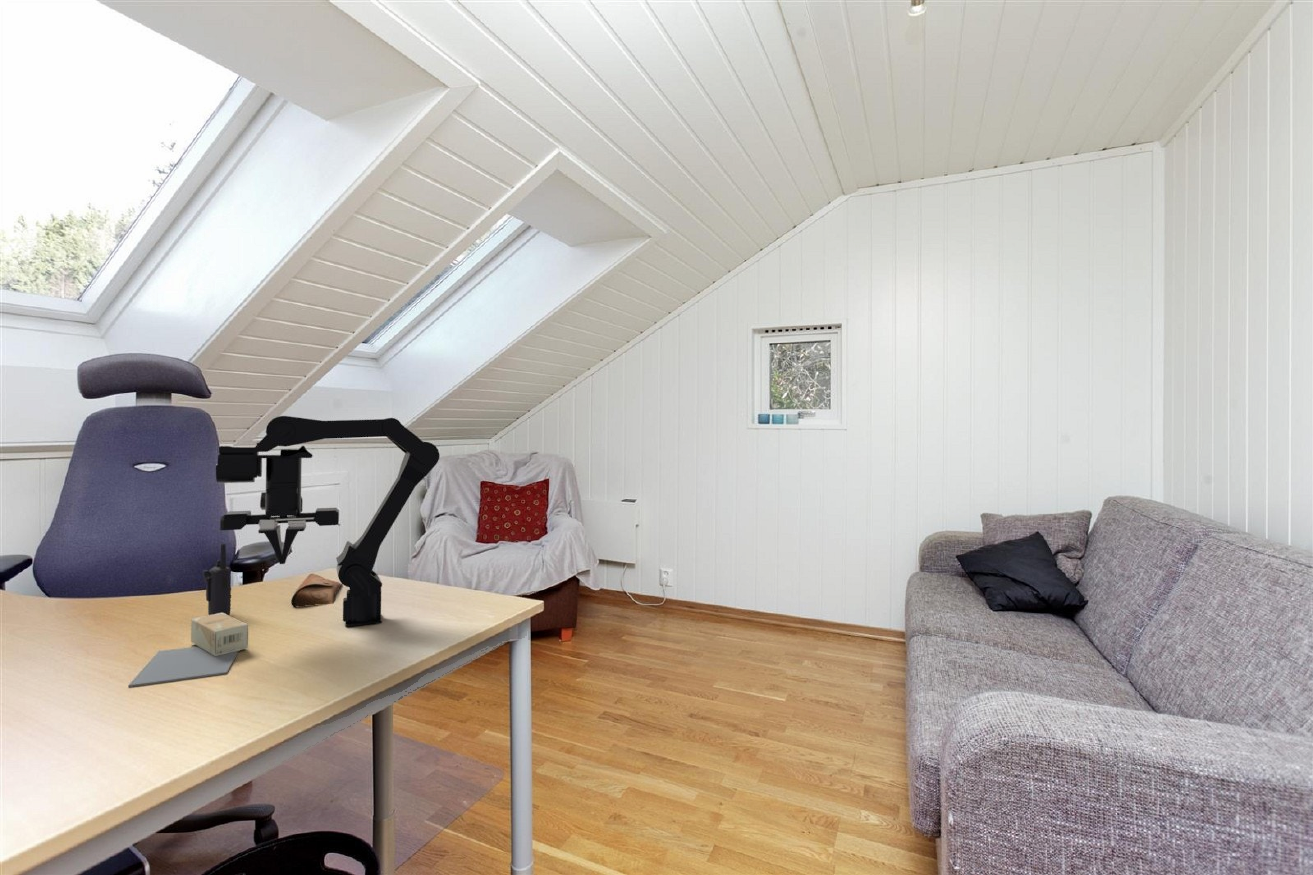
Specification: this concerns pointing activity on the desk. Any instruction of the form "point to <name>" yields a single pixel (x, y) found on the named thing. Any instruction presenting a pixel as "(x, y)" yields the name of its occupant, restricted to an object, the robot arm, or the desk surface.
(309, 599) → the sunglasses case
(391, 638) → the desk surface
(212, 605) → the two-way radio
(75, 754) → the desk surface
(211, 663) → the felt pad
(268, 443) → the robot arm
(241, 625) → the box
